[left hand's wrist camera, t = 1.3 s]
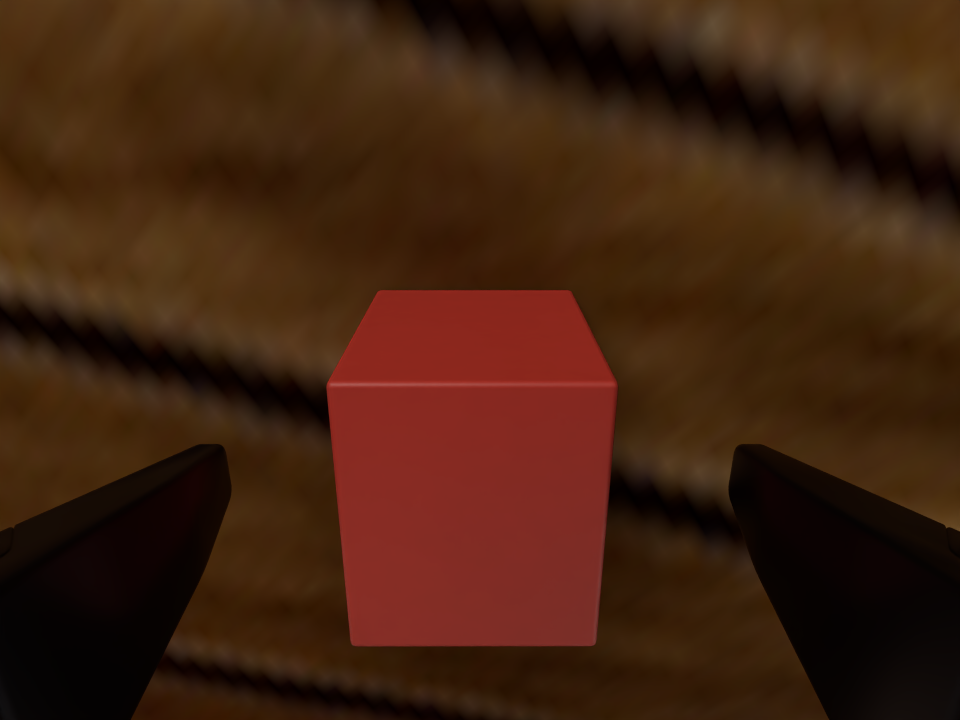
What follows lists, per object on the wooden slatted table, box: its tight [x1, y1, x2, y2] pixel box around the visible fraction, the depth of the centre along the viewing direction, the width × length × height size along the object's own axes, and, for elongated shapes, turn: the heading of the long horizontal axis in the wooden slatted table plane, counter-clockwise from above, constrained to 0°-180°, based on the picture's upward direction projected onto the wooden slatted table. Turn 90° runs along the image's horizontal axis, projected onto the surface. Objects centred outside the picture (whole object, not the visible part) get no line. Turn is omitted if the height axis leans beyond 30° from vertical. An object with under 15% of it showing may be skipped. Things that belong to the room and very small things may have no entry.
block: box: [326, 290, 618, 646], centre depth 12 cm, size 4×5×5 cm
